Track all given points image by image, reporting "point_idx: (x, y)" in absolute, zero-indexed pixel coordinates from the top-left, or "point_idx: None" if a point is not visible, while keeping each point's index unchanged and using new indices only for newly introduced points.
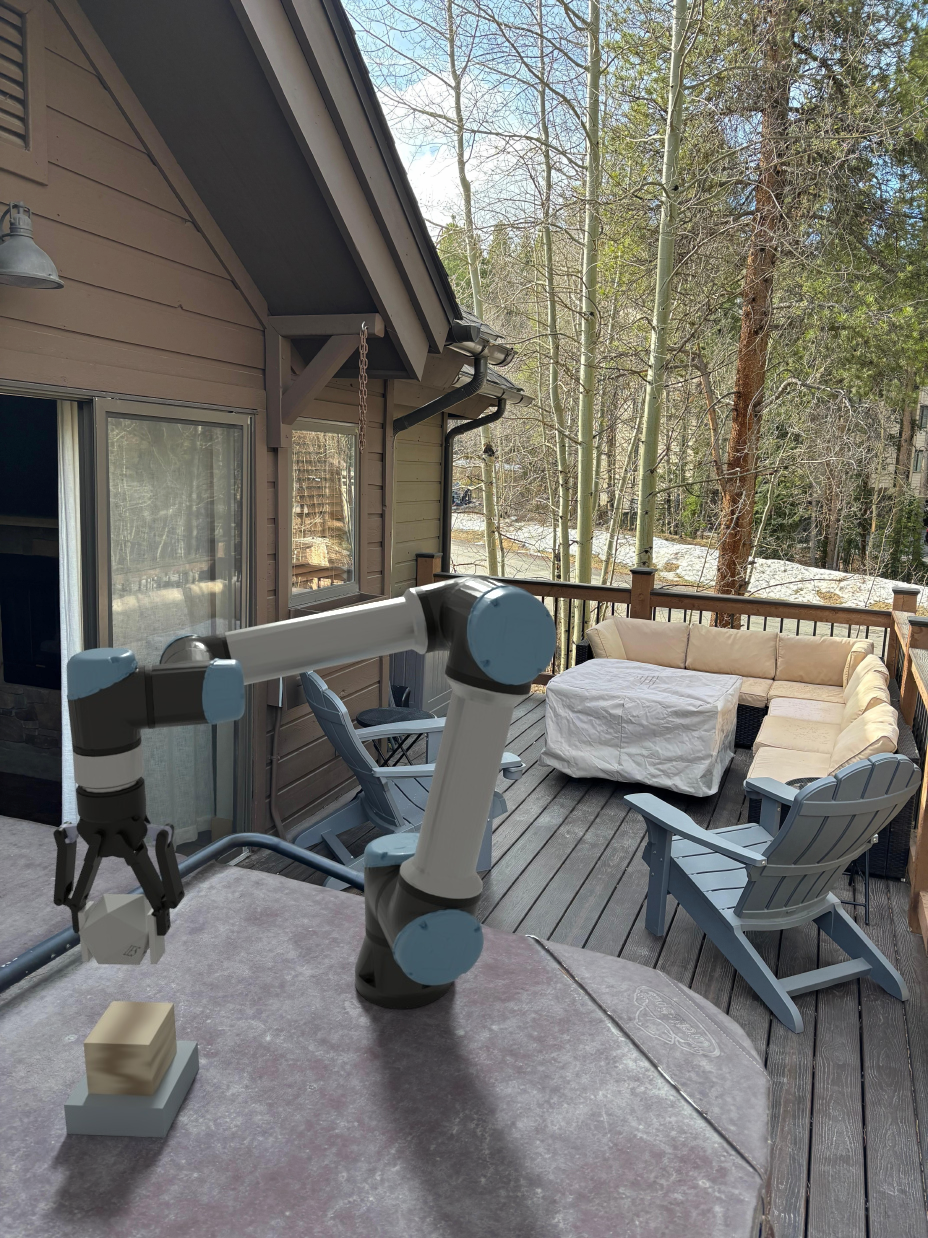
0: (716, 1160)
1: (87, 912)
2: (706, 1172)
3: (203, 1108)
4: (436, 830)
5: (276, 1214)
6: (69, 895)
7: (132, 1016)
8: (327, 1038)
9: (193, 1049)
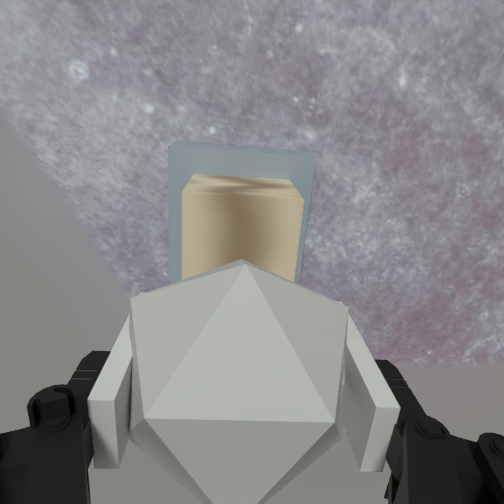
0: None
1: (121, 439)
2: None
3: (327, 226)
4: None
5: (419, 353)
6: (11, 495)
7: (238, 238)
8: (494, 85)
9: (313, 175)
